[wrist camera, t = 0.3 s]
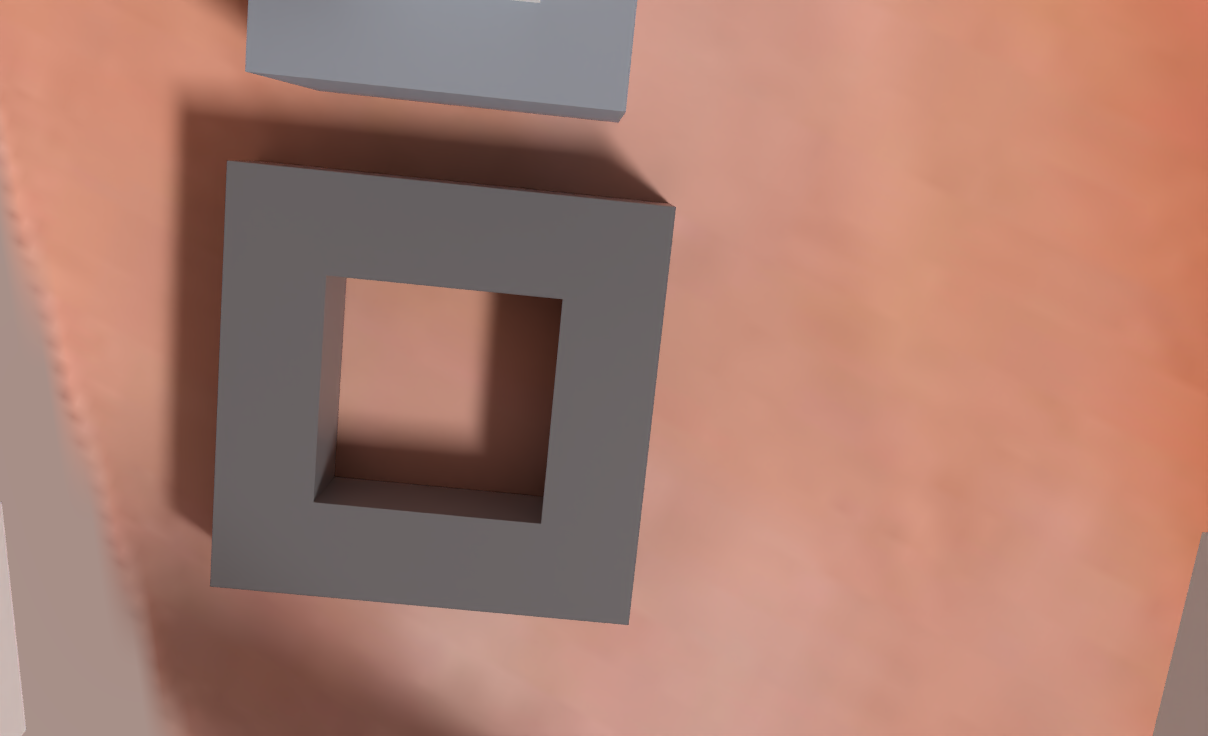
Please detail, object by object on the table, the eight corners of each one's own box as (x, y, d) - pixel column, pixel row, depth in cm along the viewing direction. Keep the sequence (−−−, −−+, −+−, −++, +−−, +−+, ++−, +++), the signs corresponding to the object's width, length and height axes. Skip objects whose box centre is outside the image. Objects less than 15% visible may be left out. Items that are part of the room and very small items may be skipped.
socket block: (255, 160, 37) (227, 160, 34) (669, 203, 37) (676, 206, 34) (238, 554, 40) (210, 586, 37) (625, 590, 40) (628, 625, 37)
